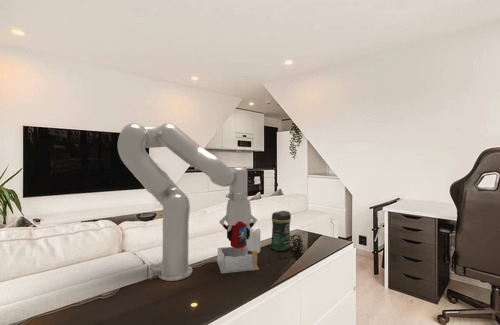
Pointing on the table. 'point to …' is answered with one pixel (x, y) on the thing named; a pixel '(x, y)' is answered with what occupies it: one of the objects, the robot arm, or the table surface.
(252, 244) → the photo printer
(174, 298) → the table surface
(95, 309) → the table surface
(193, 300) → the table surface
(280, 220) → the coffee jar
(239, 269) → the grey open box
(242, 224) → the beverage can
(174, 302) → the table surface
